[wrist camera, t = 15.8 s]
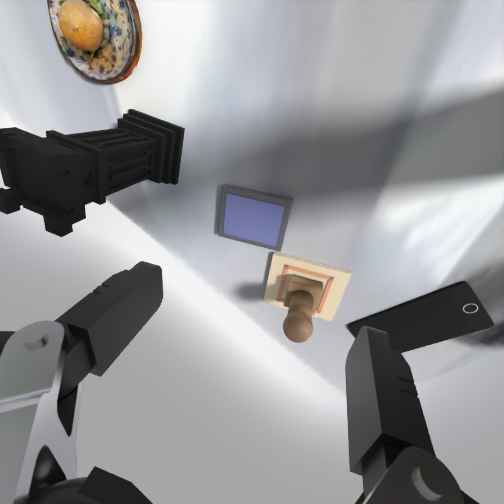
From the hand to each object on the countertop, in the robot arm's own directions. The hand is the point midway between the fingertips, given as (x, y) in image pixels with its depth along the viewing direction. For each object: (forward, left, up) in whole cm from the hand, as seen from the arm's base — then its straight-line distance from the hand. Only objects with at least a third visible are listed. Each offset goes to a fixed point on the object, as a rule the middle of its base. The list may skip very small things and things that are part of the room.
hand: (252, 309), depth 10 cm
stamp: (-4, +19, -27) cm, 34 cm away
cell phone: (-22, +20, -29) cm, 41 cm away
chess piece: (+22, +2, -28) cm, 36 cm away
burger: (+29, -11, -29) cm, 42 cm away
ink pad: (+6, +9, -28) cm, 30 cm away
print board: (-4, +19, -28) cm, 34 cm away
